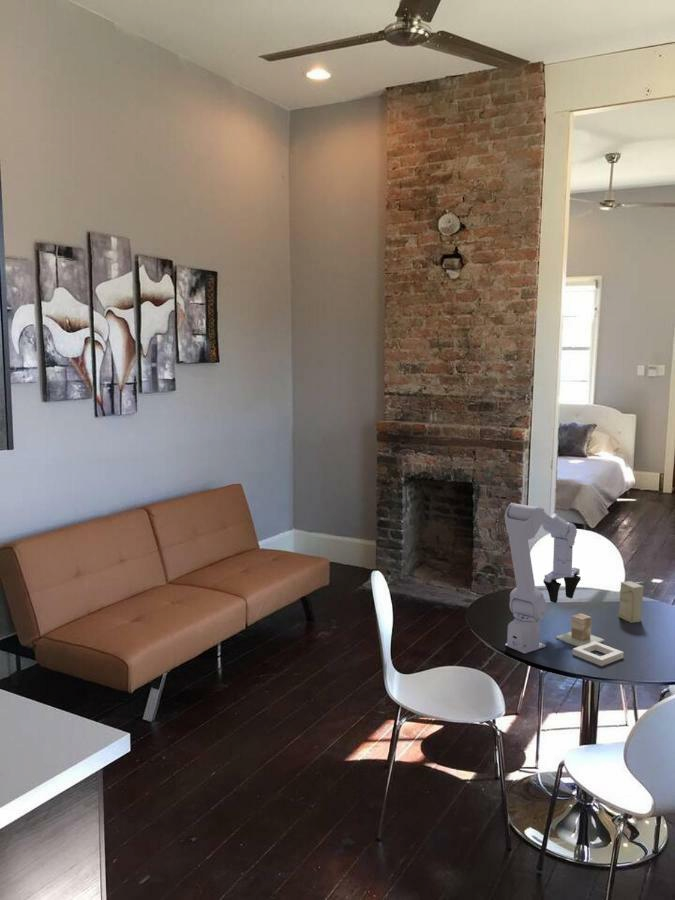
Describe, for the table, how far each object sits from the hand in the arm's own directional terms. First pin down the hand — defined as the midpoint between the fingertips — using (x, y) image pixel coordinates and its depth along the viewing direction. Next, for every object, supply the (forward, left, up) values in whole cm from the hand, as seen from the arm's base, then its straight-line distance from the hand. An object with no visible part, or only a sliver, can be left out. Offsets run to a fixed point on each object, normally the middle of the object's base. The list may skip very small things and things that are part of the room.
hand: (561, 599), depth 237 cm
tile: (-3, -10, -9) cm, 14 cm away
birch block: (-3, -10, -9) cm, 14 cm away
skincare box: (+25, -8, -10) cm, 28 cm away
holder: (-9, -21, -9) cm, 25 cm away
